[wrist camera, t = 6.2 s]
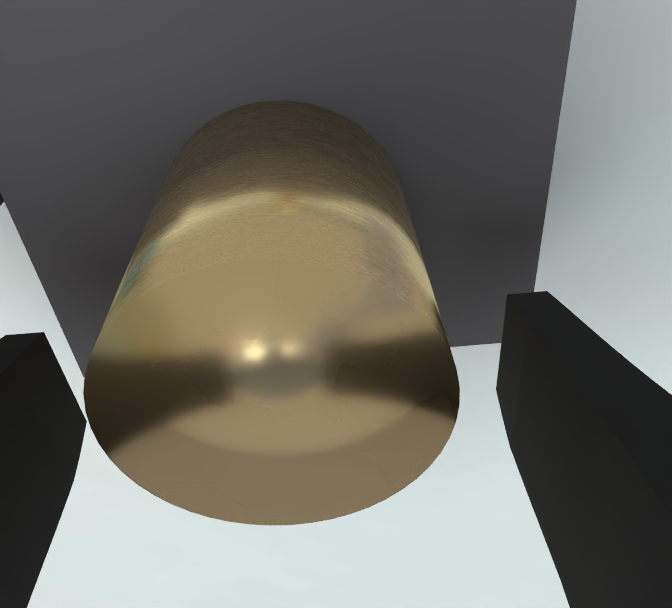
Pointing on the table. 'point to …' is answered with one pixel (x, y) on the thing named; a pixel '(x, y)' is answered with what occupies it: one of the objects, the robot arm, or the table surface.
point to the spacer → (275, 328)
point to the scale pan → (282, 85)
